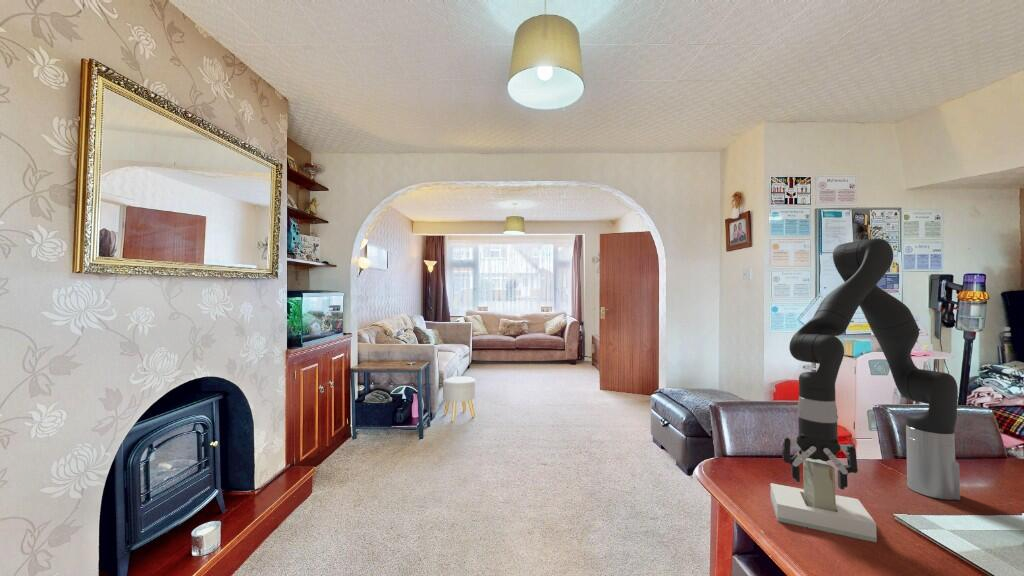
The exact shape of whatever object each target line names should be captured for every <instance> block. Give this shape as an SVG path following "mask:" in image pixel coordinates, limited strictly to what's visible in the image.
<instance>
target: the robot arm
mask: <svg viewBox="0 0 1024 576" xmlns="http://www.w3.org/2000/svg"><path fill="white" fill-rule="evenodd" d="M832 260H833V264H834V267H835V269H836V271H837V273H838V275H840V278H841V279H842V281H843V283H841V284H840V285H839V286H837V287H836V288H835V289H833V290H832V291H831V292H829V293H828V294H827V295H826V296H825V297H824V298H823V300H822V301H821V302H820V304H819V306H818V308H817V309H816V311H815V313H814V315H813V317H812V318H811V319H809V320H808V321H807V322H805V324H804V325H803V326H801V327H800V328H799V329H798V330H797V331H796V332H795V333H794V334H793V336H791V337H792V338H790V339H791V340H790V342H789V348H788V349H789V352H790V353H789V354H790V355H791V357H793V358H794V359H795V360H797V361H800V362H805V363H813V364H818V368H817V369H816V371H807V372H802V373H800V374H799V376H798V401H797V402H798V403H797V417H798V419H797V421H798V422H797V425H798V426H797V427H798V435H797V437H796V438H795V437H790V436H788V435H785V434H784V435H783V436H782V451H781V457H782V459H783V462H784V463H787V464H790V469H791V470H790V471H791V474H790V475H791V477H792V479H793V480H795V483H800V482H801V477H800V465H801V464H802V463H803V461H805V460H806V459H807V458H811V459H813V460H818V459H819V460H822V461H825V462H828V461H831V462H832V463H833V464H834V465H835V467H836V468H837V469H838V470H837V486H838V488H839V489H840V490H842V491H844V490H845V488H847V487H848V475H849V474H851V473H853V474H857V473H858V471H859V470H858V460H857V459H858V458H857V451H856V448H855V447H854V445H852V444H851V443H846V444H841V443H839V441H838V438H839V437H838V436H839V433H838V420H839V416H838V415H839V414H838V408H837V407H838V406H837V401H836V382H837V378H838V375H839V371H840V368H841V365H842V363H843V359H844V356H845V347H844V344H843V343H842V341H841V340H840V338H838V337H839V336H841V335H843V334H844V333H845V332H846V331H847V329H848V328H849V325H850V323H851V322H852V320H853V318H854V315H855V313H856V311H857V309H858V308H859V307H860V309H861V311H862V313H863V316H864V318H865V319H866V322H867V324H868V326H869V328H870V329H871V332H872V333H873V336H874V337H875V339H876V340H877V343H878V345H879V346H880V348H881V351H882V353H883V355H884V357H885V360H886V361H887V364H888V368H889V370H890V372H891V375H892V378H893V381H894V384H895V386H896V389H897V390H898V392H899V393H900V395H901V396H902V397H903V398H905V399H907V400H910V401H913V402H915V403H916V402H917V403H921V404H927V405H928V409H927V411H925V412H922V413H910V414H908V415H906V418H905V424H906V425H905V434H906V435H905V437H906V438H905V439H906V440H905V441H906V482H907V483H906V485H907V488H909V489H910V490H911V491H913V492H915V493H917V494H920V495H924V496H926V497H930V498H934V499H941V500H956V501H957V500H958V501H961V483H960V479H961V478H960V475H961V474H960V463H958V462H957V461H956V448H955V446H956V443H955V442H956V441H955V440H956V439H955V438H956V437H955V427H956V423H957V421H958V420H957V419H958V418H957V416H958V401H959V400H958V399H959V398H958V397H959V388H958V383H957V381H956V379H955V378H954V376H953V375H951V374H950V373H947V372H943V371H936V370H929V369H928V370H927V369H921V368H918V367H917V366H916V365H915V363H914V361H913V359H912V356H911V354H912V352H913V349H914V347H915V345H916V343H917V342H918V339H919V336H920V329H919V328H920V327H919V325H918V324H917V321H916V319H915V317H914V314H913V313H912V312H911V311H912V310H911V309H910V308H909V307H908V306H907V305H906V304H905V303H903V302H902V301H901V300H899V299H898V298H896V297H895V296H893V295H891V294H890V293H888V292H887V291H885V290H884V289H883V288H881V287H879V286H878V285H877V284H878V283H879V282H881V281H880V280H881V279H882V278H883V277H884V276H885V275H886V273H888V271H889V270H890V268H891V266H892V264H893V261H894V251H893V247H892V246H891V244H890V243H889V242H888V241H887V240H885V239H883V238H870V239H868V238H867V239H863V240H857V241H856V240H855V241H852V242H851V241H850V242H845V243H841V244H839V245H837V246H835V248H834V249H833V252H832ZM837 336H838V337H837ZM795 444H796V445H798V447H799V449H798V450H797V451H796V452H795V454H794V456H792V457H791V448H793V447H794V446H795ZM841 450H842V452H843V453H844V455H846V459H847V461H846V462H847V464H846V465H843V463H842V462H841V461H840V460H839V459H838V458H837V457H836V455H837V454H838V453H839V452H840V451H841Z"/></svg>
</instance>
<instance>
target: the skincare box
mask: <svg viewBox="0 0 1024 576" xmlns="http://www.w3.org/2000/svg"><path fill="white" fill-rule="evenodd" d="M802 469H803V470H802V473H803V474H802V475H803V479H802V480H803V489H804V502H805V504H806V506H808V507H813V508H818V509H823V510H828V511H834V512H836V499H835V495H836V480H835V479H836V476H835V475H836V473H835V471H836V470H835V468H834V467H833V466H832V465H831V464H829V463H828V462H827V461H822V460H819V459H818V460H813V459H811V458H809V457H808V458H807V459H806V460H805V461H802Z"/></svg>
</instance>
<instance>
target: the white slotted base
mask: <svg viewBox="0 0 1024 576" xmlns="http://www.w3.org/2000/svg"><path fill="white" fill-rule="evenodd" d="M769 485H770V501H771V504H772V505H771V506H772V508H773V510H774V511H773V512H774V514H775V517H776V520H777V522H781V523H785V524H789V525H792V526H793V525H794V526H800V527H803V528H807V527H808V528H807V529H812V530H817V531H822V532H826V533H831V534H836V535H840V536H845V537H849V538H854V539H859V540H863V541H868V542H872V543H877V541H878V540H877V539H878V538H877V523H876V522H875V520H874V519H873V517H872V515H870V513H869V512H868V511H867V509H866V508H865V506H864V505H863V504H862V502H861V501H860V500H859V499H858V498H854V497H850V496H849V497H848V496H844V495H843V496H842V495H839V494H838V495H837V494H835V499H836V512H834V511H828V510H823V509H818V508H813V507H808V506H806V504H805V502H804V488H799V487H793V486H787V485H782V484H776V483H772V482H771V483H769Z"/></svg>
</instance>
